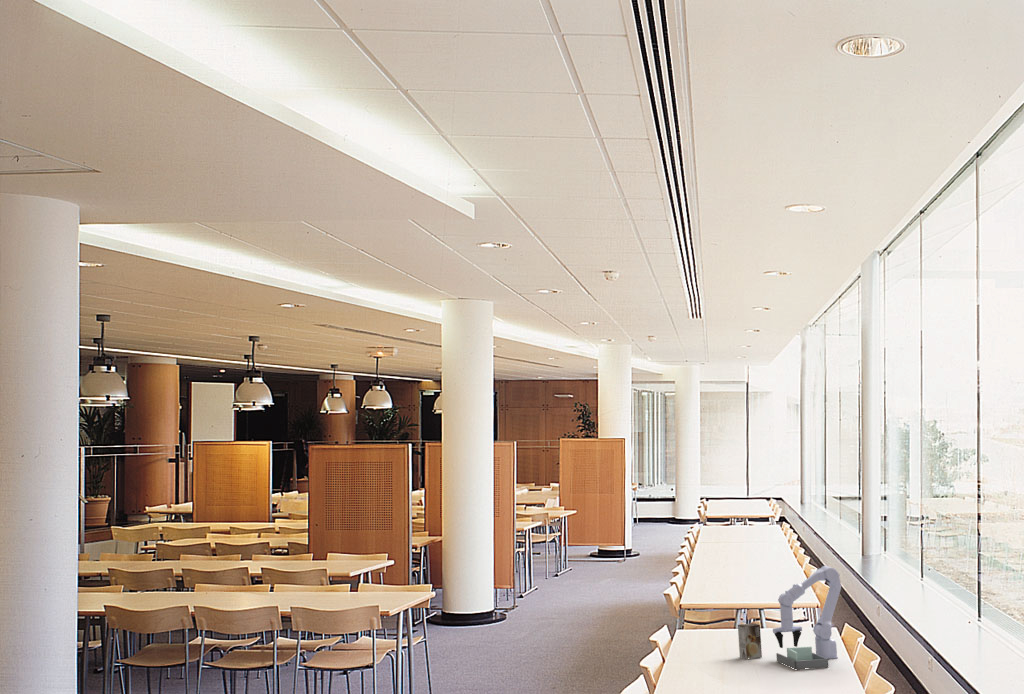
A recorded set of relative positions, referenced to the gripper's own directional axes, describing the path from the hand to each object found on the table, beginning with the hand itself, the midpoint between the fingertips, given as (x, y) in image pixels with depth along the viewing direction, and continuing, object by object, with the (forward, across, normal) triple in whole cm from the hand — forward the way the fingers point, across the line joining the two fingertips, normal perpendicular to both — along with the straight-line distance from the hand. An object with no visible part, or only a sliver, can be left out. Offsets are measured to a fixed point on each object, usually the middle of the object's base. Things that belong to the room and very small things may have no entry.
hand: (788, 646), depth 516 cm
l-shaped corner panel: (+6, 0, +16) cm, 17 cm away
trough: (+6, 0, +14) cm, 15 cm away
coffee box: (+6, +16, -9) cm, 19 cm away
